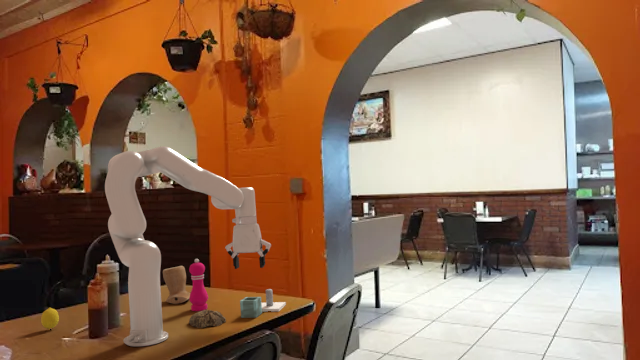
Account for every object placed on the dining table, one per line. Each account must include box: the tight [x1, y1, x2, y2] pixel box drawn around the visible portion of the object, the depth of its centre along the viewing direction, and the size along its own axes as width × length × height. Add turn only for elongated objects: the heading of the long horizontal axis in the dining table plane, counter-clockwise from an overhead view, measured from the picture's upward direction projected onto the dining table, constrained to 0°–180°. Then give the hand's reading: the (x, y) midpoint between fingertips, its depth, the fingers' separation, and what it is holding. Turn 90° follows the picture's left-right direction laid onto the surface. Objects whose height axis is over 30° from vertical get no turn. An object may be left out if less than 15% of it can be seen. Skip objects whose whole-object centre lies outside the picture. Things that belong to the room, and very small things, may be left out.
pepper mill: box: [188, 258, 209, 312], centre depth 187 cm, size 7×7×20 cm
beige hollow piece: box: [162, 265, 191, 305], centre depth 204 cm, size 15×12×15 cm
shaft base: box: [261, 288, 287, 313], centre depth 181 cm, size 10×10×7 cm
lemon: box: [40, 307, 60, 330], centre depth 169 cm, size 6×6×8 cm
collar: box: [239, 296, 263, 319], centre depth 172 cm, size 6×6×6 cm
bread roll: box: [188, 309, 227, 329], centre depth 166 cm, size 13×12×5 cm
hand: (249, 267), depth 173 cm, fingers open, 9 cm apart
